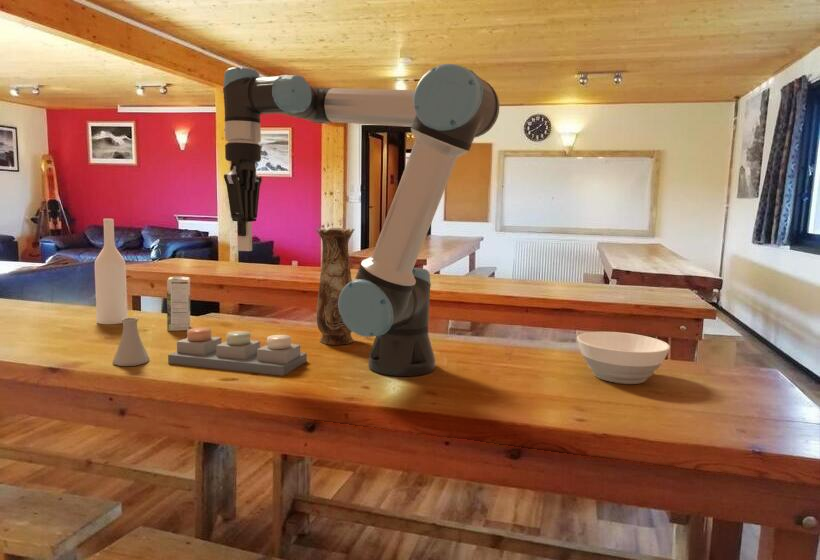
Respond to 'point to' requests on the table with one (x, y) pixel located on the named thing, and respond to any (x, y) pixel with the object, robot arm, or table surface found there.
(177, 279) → the syrup box
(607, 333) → the bowl
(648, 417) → the table surface
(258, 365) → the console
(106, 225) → the bottle
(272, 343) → the button cream
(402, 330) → the robot arm
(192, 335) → the button terracotta
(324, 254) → the vase
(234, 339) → the button sage
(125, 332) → the flask
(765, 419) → the table surface
